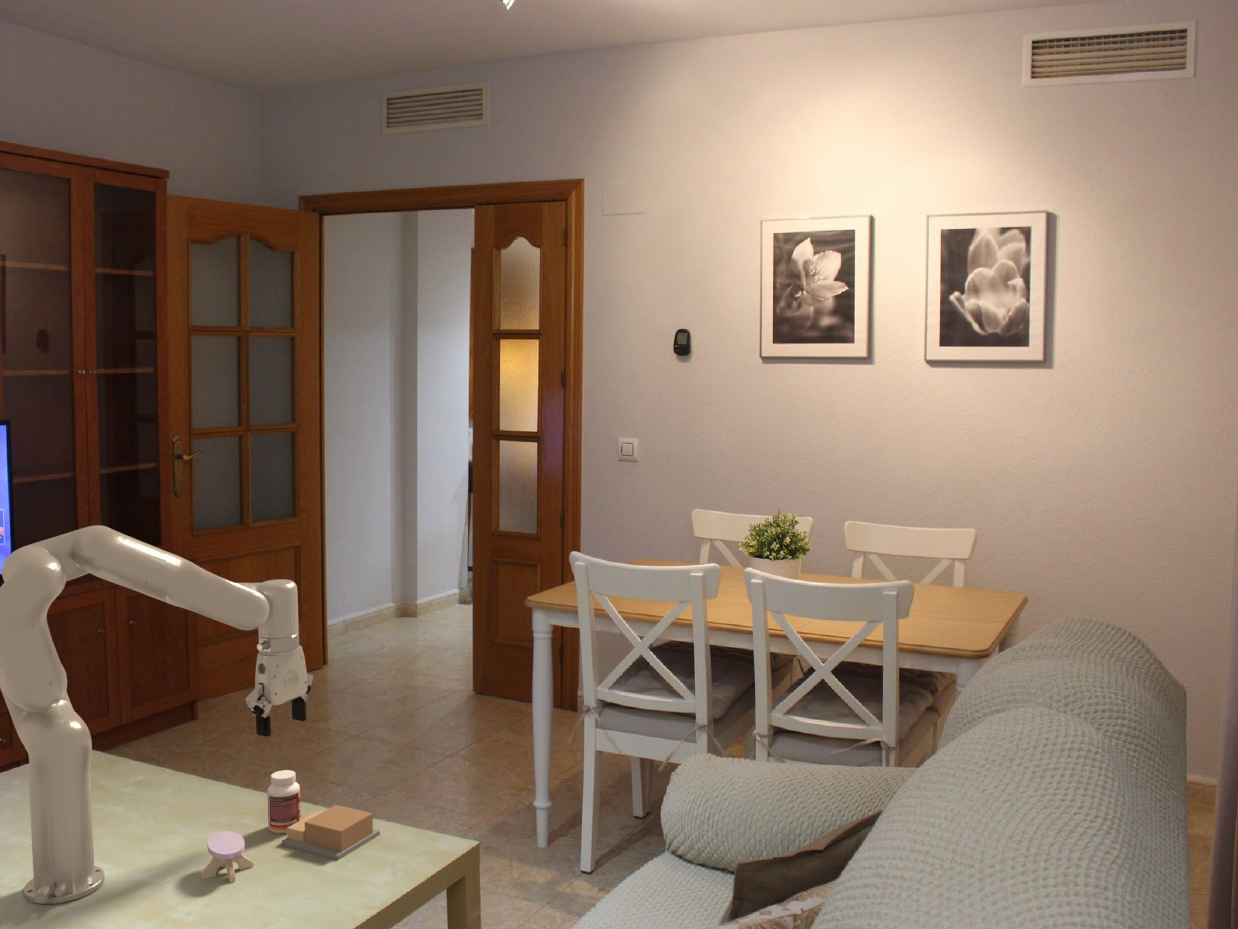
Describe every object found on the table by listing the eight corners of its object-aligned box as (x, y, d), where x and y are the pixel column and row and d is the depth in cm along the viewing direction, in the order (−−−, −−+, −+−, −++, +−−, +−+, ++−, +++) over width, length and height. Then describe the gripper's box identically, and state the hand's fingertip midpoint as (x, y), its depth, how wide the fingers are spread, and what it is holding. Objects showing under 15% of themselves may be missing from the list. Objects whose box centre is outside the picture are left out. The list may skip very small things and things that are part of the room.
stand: (379, 834, 208) (379, 811, 208) (338, 860, 198) (338, 835, 197) (324, 821, 215) (324, 798, 214) (281, 844, 204) (281, 820, 203)
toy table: (201, 864, 196) (200, 834, 195) (252, 856, 199) (251, 827, 199) (200, 888, 187) (199, 857, 186) (254, 880, 190) (253, 849, 189)
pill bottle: (306, 828, 211) (305, 774, 210) (277, 837, 207) (275, 783, 206) (291, 818, 216) (290, 766, 215) (263, 827, 211) (261, 774, 210)
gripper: (260, 656, 199) (263, 744, 200) (324, 635, 214) (326, 717, 216) (231, 651, 202) (234, 738, 203) (295, 631, 217) (298, 712, 219)
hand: (281, 727), depth 210 cm, fingers open, 9 cm apart
